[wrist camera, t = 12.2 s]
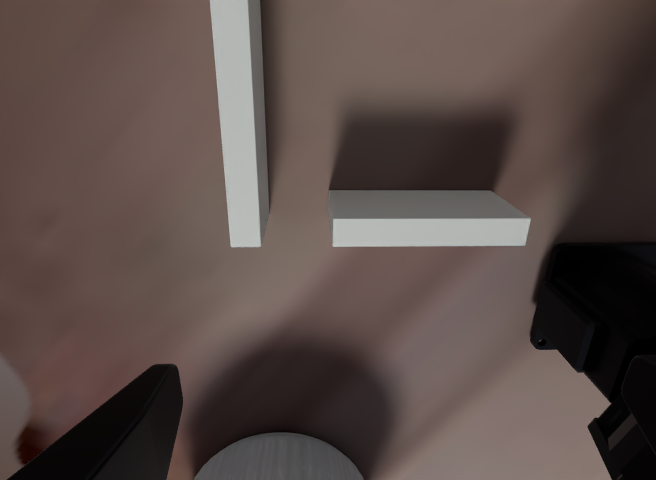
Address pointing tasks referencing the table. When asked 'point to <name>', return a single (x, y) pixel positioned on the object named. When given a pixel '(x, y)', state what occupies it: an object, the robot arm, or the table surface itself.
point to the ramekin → (279, 460)
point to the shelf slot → (343, 205)
